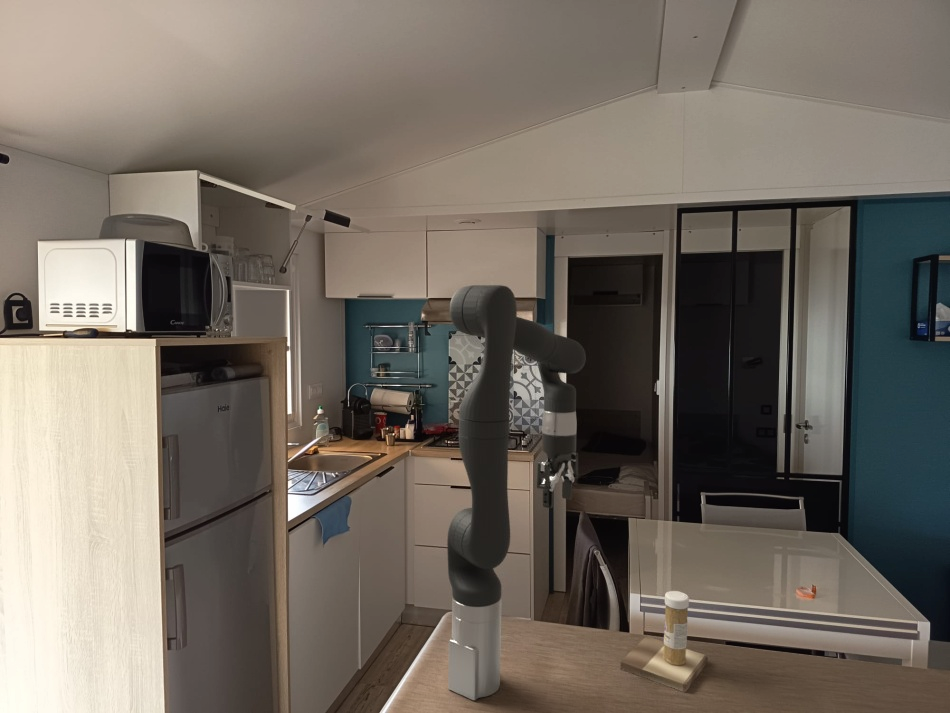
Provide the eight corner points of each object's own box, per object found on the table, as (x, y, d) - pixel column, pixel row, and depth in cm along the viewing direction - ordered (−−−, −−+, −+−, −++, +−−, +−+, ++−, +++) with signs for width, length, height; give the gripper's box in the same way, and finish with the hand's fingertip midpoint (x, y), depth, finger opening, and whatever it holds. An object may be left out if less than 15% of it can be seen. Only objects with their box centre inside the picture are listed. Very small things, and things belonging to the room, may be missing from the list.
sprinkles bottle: (659, 654, 133) (661, 590, 132) (681, 653, 134) (683, 589, 133) (667, 666, 129) (670, 600, 128) (690, 666, 129) (692, 599, 128)
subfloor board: (685, 692, 123) (685, 684, 123) (620, 669, 131) (620, 661, 131) (707, 663, 133) (707, 655, 133) (646, 642, 141) (646, 635, 141)
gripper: (558, 438, 137) (556, 513, 139) (589, 428, 149) (587, 498, 150) (527, 433, 142) (526, 507, 143) (560, 424, 153) (558, 492, 154)
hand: (557, 502), depth 147 cm, fingers open, 8 cm apart
